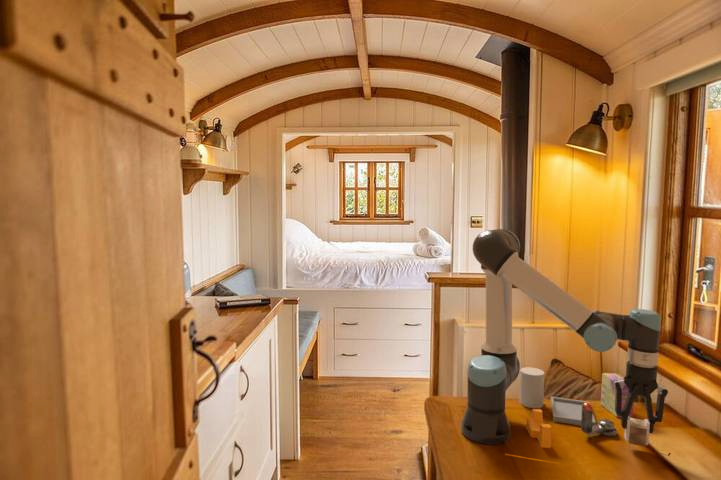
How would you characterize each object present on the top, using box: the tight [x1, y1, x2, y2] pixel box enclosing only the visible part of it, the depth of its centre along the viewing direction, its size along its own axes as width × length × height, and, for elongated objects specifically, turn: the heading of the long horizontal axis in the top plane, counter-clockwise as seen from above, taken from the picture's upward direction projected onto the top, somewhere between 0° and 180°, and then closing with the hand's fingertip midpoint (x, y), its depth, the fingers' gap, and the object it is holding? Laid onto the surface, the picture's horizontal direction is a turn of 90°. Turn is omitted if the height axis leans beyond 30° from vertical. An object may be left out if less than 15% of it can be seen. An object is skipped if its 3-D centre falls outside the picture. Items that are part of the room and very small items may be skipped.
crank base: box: [598, 427, 618, 438], centre depth 133 cm, size 20×6×1 cm, turn 36°
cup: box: [519, 366, 545, 409], centre depth 159 cm, size 8×8×12 cm
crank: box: [580, 402, 615, 436], centre depth 137 cm, size 13×4×10 cm, turn 114°
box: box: [600, 372, 635, 419], centre depth 153 cm, size 10×6×12 cm, turn 179°
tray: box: [550, 396, 597, 427], centre depth 151 cm, size 13×17×2 cm
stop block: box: [627, 417, 647, 447], centre depth 128 cm, size 4×4×6 cm
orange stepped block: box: [526, 408, 552, 449], centre depth 135 cm, size 12×4×6 cm, turn 171°
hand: (635, 440), depth 128 cm, fingers closed on stop block, 4 cm apart
